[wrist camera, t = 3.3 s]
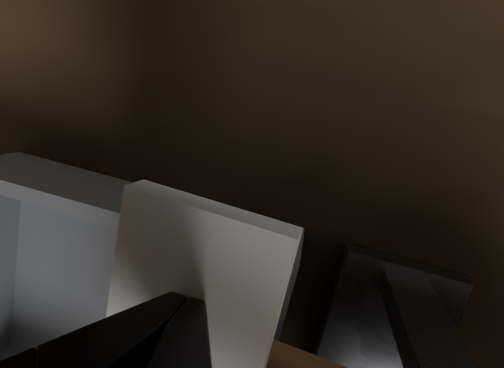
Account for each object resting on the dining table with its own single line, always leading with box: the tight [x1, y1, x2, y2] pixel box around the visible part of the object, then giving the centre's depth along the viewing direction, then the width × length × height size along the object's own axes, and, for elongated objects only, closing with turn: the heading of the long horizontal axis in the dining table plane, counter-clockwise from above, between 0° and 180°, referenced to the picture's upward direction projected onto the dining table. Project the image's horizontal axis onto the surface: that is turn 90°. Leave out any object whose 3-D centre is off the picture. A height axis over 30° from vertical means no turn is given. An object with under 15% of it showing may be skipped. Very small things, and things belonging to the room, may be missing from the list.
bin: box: [0, 152, 305, 360], centre depth 17 cm, size 11×14×4 cm
